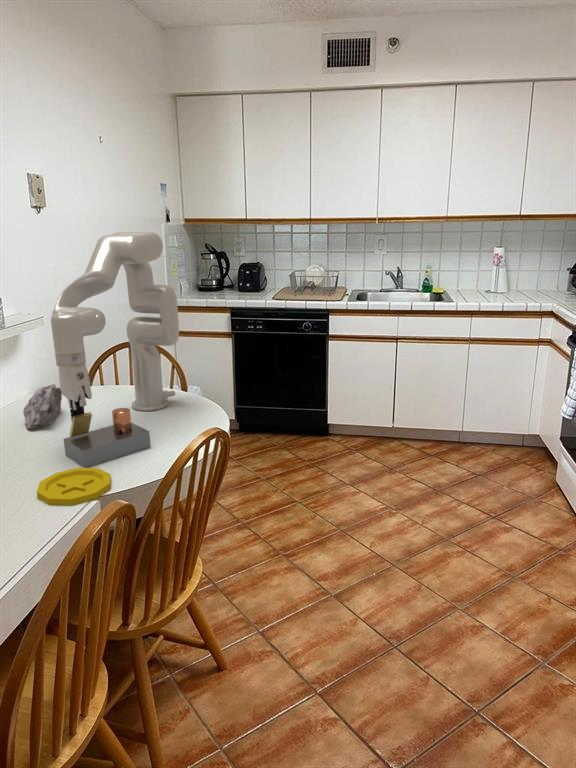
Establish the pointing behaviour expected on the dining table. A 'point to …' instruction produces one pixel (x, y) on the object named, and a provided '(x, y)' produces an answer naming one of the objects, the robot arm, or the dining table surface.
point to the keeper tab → (80, 424)
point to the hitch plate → (105, 445)
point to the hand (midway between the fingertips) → (78, 422)
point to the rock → (43, 407)
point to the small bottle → (121, 420)
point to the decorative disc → (74, 486)
